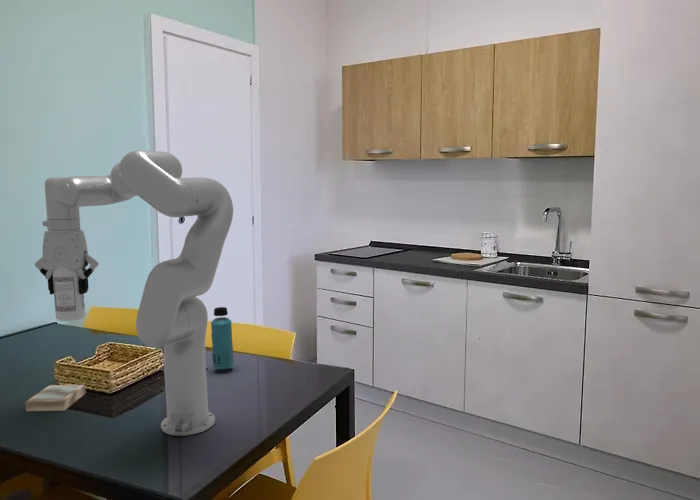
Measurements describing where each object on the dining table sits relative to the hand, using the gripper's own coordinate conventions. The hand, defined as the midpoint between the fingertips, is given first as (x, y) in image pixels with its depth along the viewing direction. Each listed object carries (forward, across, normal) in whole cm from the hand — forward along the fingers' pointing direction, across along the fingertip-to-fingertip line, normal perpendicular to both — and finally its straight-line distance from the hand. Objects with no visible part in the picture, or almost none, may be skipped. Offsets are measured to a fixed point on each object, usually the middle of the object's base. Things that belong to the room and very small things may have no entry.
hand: (68, 292), depth 147 cm
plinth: (+30, -6, +1) cm, 31 cm away
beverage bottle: (+30, +34, +24) cm, 52 cm away
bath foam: (+7, 0, 0) cm, 7 cm away
